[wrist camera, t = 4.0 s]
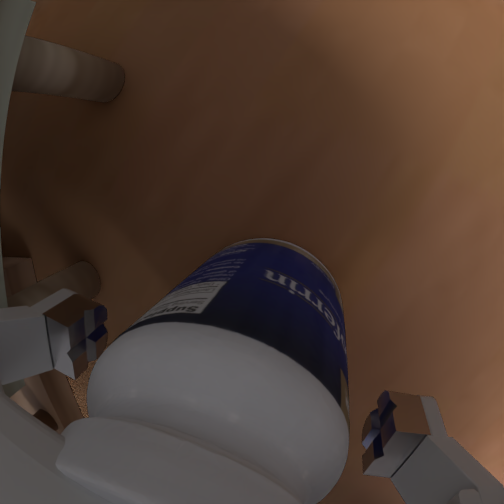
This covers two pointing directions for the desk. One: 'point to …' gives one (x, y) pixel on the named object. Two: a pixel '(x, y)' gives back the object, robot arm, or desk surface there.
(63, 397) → the upturned stool
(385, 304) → the desk surface
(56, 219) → the desk surface
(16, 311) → the robot arm
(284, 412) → the pill bottle
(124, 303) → the desk surface
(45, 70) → the small table
